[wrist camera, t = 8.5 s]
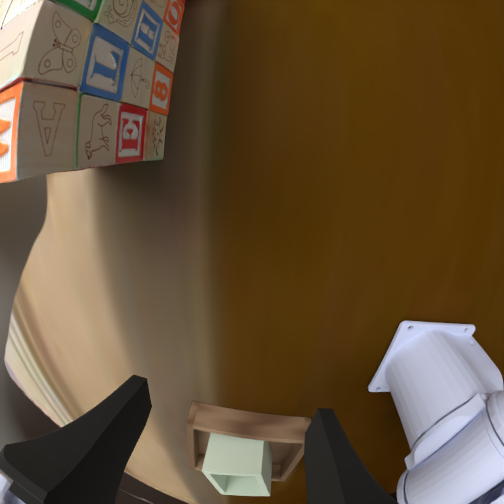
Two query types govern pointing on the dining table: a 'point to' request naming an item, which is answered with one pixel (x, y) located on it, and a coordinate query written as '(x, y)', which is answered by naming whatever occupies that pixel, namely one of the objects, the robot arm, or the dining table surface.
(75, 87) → the stack of blocks
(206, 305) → the dining table surface
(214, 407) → the big crate
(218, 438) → the box
